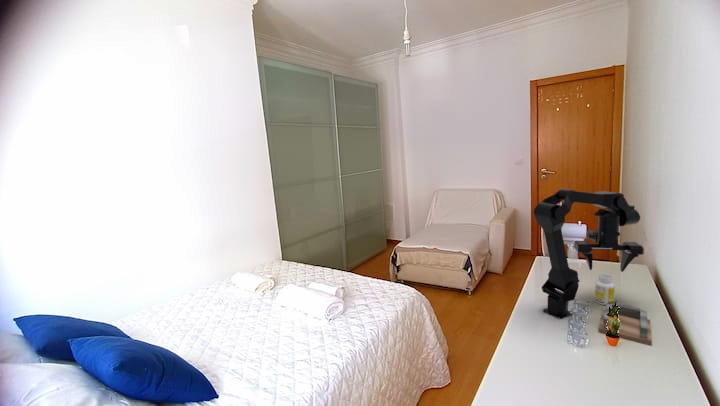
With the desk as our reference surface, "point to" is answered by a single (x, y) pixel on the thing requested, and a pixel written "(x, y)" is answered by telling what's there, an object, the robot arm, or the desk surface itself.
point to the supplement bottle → (604, 290)
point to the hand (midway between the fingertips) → (605, 270)
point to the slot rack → (629, 323)
